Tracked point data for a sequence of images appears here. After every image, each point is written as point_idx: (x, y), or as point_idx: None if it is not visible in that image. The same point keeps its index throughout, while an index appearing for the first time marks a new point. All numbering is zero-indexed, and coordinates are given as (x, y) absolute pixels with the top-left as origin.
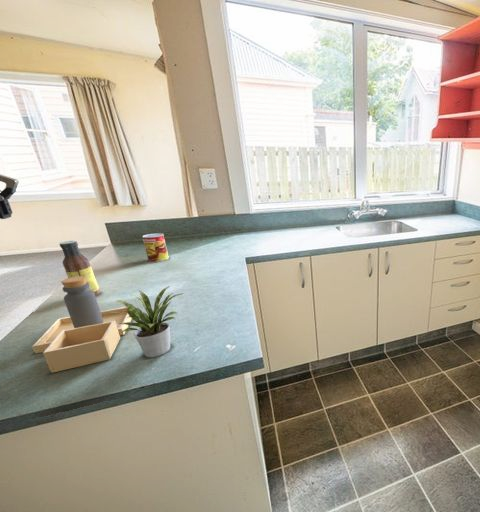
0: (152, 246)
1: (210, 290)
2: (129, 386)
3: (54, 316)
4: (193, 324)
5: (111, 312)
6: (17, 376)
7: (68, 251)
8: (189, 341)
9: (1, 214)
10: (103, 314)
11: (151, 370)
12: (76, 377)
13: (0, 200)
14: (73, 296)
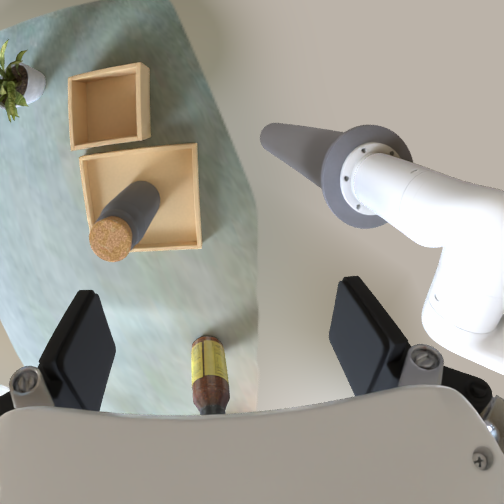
0: None
1: (19, 286)
2: (56, 14)
3: (227, 284)
4: (5, 157)
5: (7, 41)
6: (193, 78)
7: (212, 413)
8: None
9: (74, 303)
10: (138, 245)
11: (37, 40)
12: (114, 46)
13: (29, 367)
14: (120, 207)
